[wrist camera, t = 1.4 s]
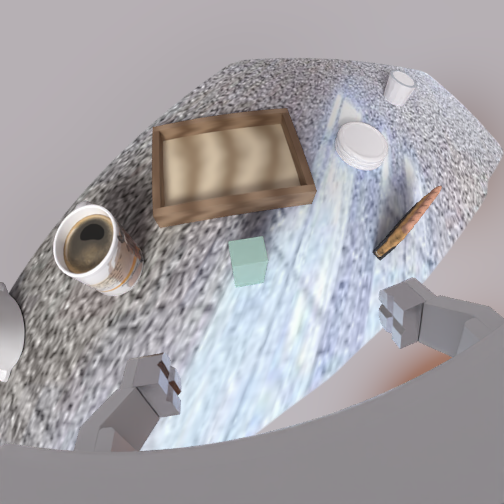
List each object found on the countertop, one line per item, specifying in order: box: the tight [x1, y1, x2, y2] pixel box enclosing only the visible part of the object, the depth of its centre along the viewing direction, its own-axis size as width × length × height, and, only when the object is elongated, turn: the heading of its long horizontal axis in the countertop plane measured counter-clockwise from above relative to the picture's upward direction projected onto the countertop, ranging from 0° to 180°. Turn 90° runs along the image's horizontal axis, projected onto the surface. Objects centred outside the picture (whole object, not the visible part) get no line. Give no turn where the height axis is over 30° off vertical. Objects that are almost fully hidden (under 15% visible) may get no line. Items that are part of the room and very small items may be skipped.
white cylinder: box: [384, 70, 417, 106], centre depth 55 cm, size 7×7×7 cm
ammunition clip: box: [373, 186, 441, 260], centre depth 40 cm, size 11×2×12 cm, turn 132°
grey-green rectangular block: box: [228, 236, 268, 287], centre depth 38 cm, size 4×3×10 cm
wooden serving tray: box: [152, 108, 317, 228], centre depth 47 cm, size 24×18×4 cm
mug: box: [53, 200, 144, 296], centre depth 38 cm, size 10×12×11 cm
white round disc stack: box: [335, 122, 388, 171], centre depth 50 cm, size 10×10×4 cm
